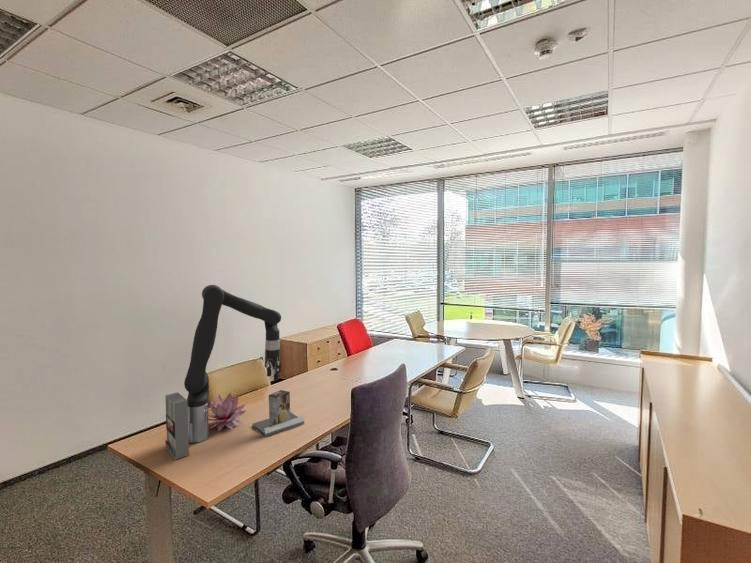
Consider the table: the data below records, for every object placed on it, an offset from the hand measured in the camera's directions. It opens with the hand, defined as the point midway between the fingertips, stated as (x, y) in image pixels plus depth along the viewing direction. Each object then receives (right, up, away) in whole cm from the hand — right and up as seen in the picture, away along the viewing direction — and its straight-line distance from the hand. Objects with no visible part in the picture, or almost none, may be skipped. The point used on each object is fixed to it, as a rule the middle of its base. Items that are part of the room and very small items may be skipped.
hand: (272, 378), depth 193 cm
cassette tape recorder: (-35, -26, -28) cm, 52 cm away
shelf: (+3, -24, -1) cm, 25 cm away
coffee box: (+4, -23, -2) cm, 24 cm away
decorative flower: (-24, -25, -2) cm, 35 cm away
